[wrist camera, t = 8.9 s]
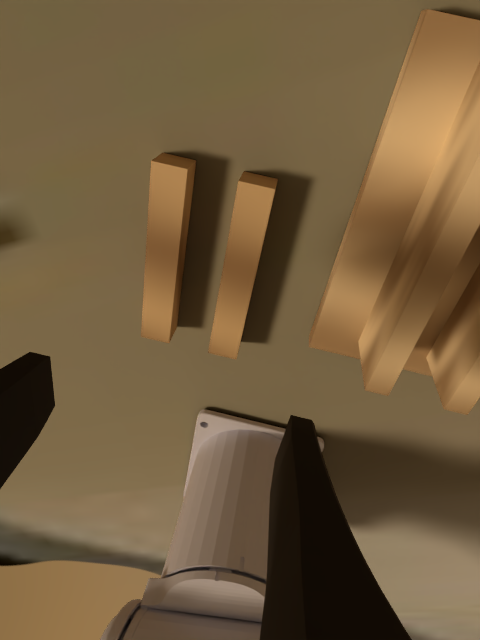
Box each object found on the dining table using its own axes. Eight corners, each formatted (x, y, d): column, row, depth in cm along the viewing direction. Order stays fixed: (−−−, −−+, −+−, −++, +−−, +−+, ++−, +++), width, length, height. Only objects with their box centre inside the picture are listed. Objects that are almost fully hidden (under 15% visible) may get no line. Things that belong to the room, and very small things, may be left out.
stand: (240, 342, 23) (236, 359, 22) (150, 320, 23) (141, 336, 22) (278, 179, 18) (275, 189, 17) (162, 152, 18) (151, 160, 17)
